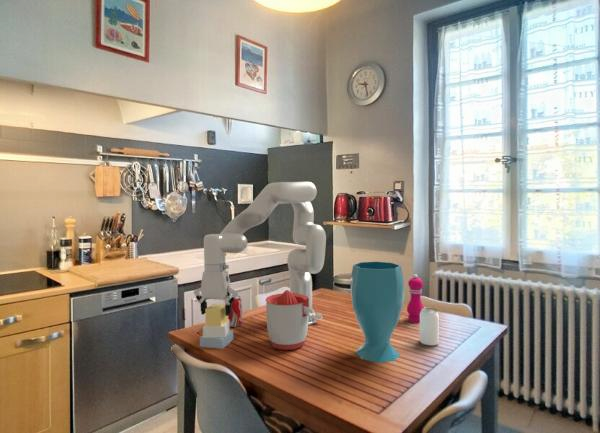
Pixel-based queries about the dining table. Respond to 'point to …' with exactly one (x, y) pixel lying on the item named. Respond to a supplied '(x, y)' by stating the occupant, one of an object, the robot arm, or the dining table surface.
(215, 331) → the top block
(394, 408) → the dining table surface
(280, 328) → the citrus juicer
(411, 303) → the pepper mill
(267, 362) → the dining table surface
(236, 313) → the soda can
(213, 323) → the stack cube
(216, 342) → the base block
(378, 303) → the vase
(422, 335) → the can
